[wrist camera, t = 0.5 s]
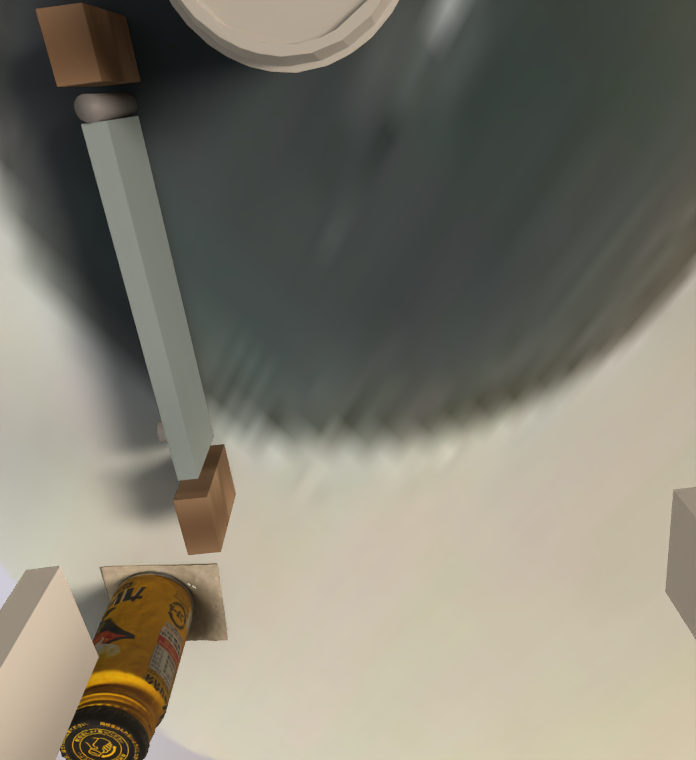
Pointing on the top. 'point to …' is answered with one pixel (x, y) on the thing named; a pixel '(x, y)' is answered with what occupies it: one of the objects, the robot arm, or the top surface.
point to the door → (148, 274)
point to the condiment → (141, 655)
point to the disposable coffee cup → (285, 29)
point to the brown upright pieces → (113, 67)
